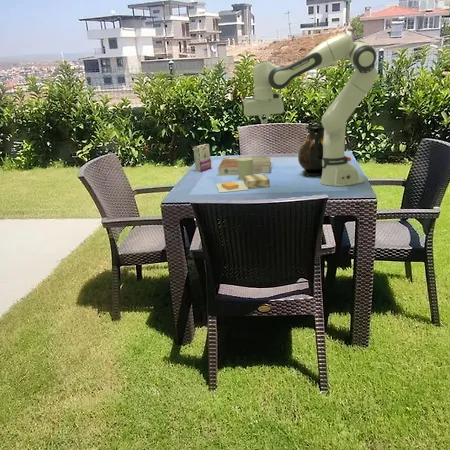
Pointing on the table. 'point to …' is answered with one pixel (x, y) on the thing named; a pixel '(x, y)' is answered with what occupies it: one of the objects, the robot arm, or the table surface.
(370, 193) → the table surface
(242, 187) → the cream board
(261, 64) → the robot arm
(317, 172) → the amphora vase
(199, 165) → the candy bar box
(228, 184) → the orange tile
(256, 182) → the cylinder
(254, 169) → the pizza box
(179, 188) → the table surface
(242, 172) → the can
